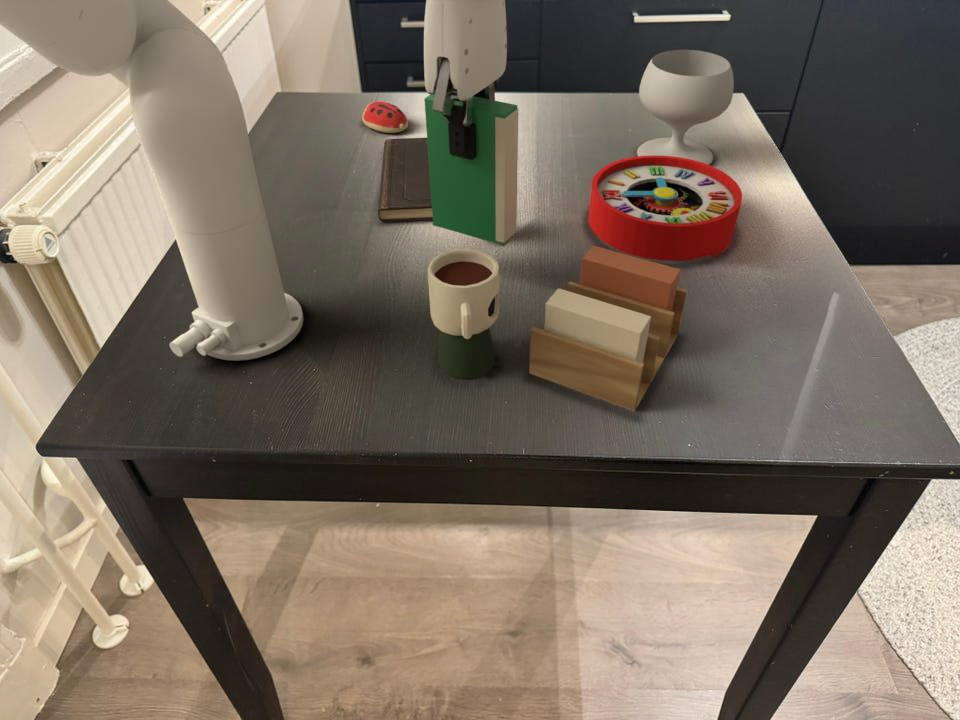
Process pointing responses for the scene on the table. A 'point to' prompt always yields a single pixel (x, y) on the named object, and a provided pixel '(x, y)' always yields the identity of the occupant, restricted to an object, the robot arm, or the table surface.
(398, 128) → the ladybug figurine
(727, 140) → the table surface
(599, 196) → the toy clock
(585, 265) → the terracotta book
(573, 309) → the cream book
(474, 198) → the green book
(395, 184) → the hardcover book
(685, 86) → the chalice
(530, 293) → the table surface
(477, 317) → the character mug
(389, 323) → the table surface
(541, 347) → the book rack
